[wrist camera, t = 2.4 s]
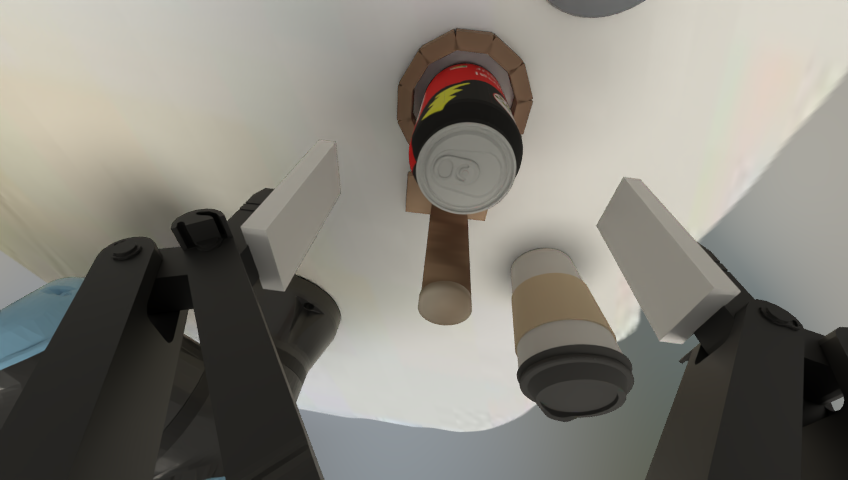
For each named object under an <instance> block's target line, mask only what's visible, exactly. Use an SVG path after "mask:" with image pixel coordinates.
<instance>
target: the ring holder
mask: <svg viewBox="0 0 848 480" xmlns="http://www.w3.org/2000/svg"><path fill="white" fill-rule="evenodd" d="M456 50H459V51H467V52H476V53H485V54H488V55H489V56H490V57H491V58H493V59H494V60H495V61H496V62H497V63H498V64H499V65H500V66H502V67H503V68H504V69H505V70H506V71H507V72H508V75H509V79H510V82H511V86H512V90H513V93H514V100H513V104H512V108H511V113H512V115H513V118H514V120H515V122H516V125H517V127H518V129H519V132H520V135H521V134H523V133H524V130H525V126H526V123H527V120H528V116H529V113H530V109H531V106H532V103H533V101H532V100H531V99H533V97H532V93H531V89H530V84H529V80H528V76H527V72H526V68H525V64H524V63H523V61H522V59H521V58H520V57H519V56H518V55H517V54H516V53H515V52H513V51H512V50H511V49H510V48H509V47H508V46H507V45H506V44H505V43H504V42H503V41H502V40H501V39H499V38H498V37H497V36H496V35H495V34H494V35H493V34H492V32H483V31H475V30H466V29H456V34H455V31H454V29H453V30H451V31H449V32H447V33H445V34H443V35H442V36H440V37H438V38H436V39H434V40H432V41H430V42H428V43H427V44H425V45H423V46H422V47H421V48H420V49H419V50H418V52H417V54H416V55H415V57H414V59H413V60H412V62H411V64H410V65H409V67H408V69H407V70H406V72H405V74H404V75H403V77H402V79H401V80H400V82H399V85H398V105H397V120H398V124H399V126H400V128H401V130H402V132H403V134H404V136H405V138H406V140H407V142H408V144H409V146H410V141H411V138H412V134H413V131H414V128H415V124H416V121H417V120H416V118H415V116H414V113H413V106H414V90H415V86H416V84H417V83H418V81H419V79H420V78H421V76H422V75H423V73H424V72H425V70H426V68H427V67H428V65H429V64H431V63H433V62H435V61H437V60H439V59H441V58H443V57H445V56H447V55H449V54H450V53H452V52H454V51H456ZM521 137H522V136H521ZM487 210H488V209H487ZM487 210H485V211H482V212H479V213H474V214H454V213H450V212H447V211H444V210H442V209H440V208H438V207H436V206H435V205H433V204H432V203H431V202H430V201H429V200H428V199H427V198H426V197H425V196H424V194H423V193H422V191H421V190H420V187H419V185H418V184H417V182H416V180H415V178H414V176H413V174H412V172H409V173H408V180H407V197H406V212H415V213H423V214H430V222H429V231H428V239H427V248H426V257H425V265H424V274H423V282H422V290H421V292H420V295H419V303H418V310H419V313H420V314H421V316H422V317H423V318H425V319H426V320H428V321H429V322H432V323H434V324H438V325H455V324H458V323H461V322H463V321H465V320H466V319H467V318H468V317H469V316H470V314H471V311H472V303H471V283H470V261H469V238H468V219H473V220H482V221H485V218H486V214H487Z"/></svg>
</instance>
